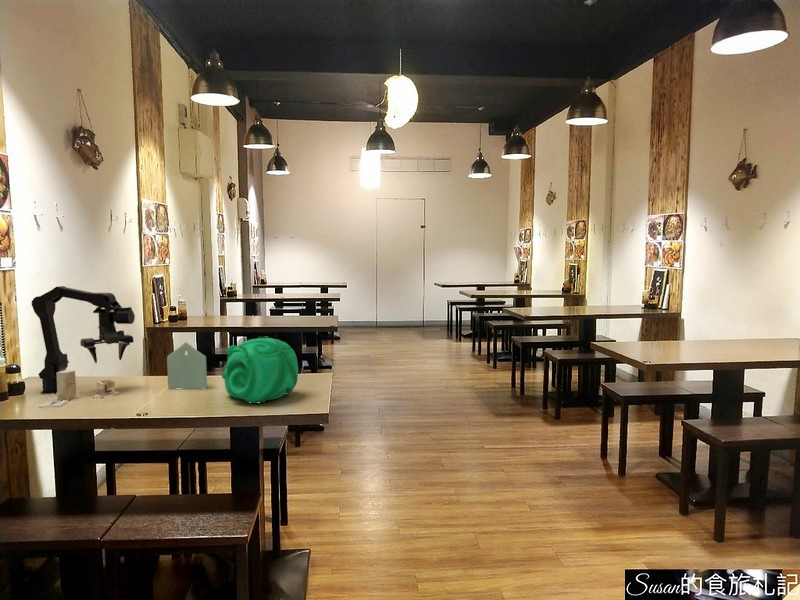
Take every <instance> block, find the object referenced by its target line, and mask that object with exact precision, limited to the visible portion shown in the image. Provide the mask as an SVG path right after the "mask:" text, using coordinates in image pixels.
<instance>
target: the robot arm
mask: <svg viewBox="0 0 800 600" xmlns="http://www.w3.org/2000/svg"><path fill="white" fill-rule="evenodd" d="M63 298H65V299H72V300H77V301H82V302H86V303H90V304H91V305H92V306H95V307H96V308H95V309H94V310H93V311H92V313H93V314H98V330H99V331H98V334H99V335H98V338H97V339H94V338H92V337H88V338H81V340H79V341H80V347H83V348H85V349H87V350H88V352H89V353H90V356H91V357H92V359H93V361H94V363H95V364H97V363H98V357H97V347H96V346H95V345H99V344H100V345H101V344H106V345H111V344H118V360H119V361H122V358H123V356H124V353H125V350H126V347H128V346H130V345H131V344H132V343H134V336H132V335H130V334H125V331H124V330H118V331H117V329H116V325H115V324H117V325H133V324H134V321H135V317H136V315H135V313H134V311H133V309H132V307H131V306H130V307H129V306H127V307H122V305H121V304H120V303H119V302H118V300H117V298H116V296H115V294H114V293H112V292H91V291H86V290H81V289H76V288H71V287H66V286H64V285H62V286H60V285H59V286H56V287H54V288H52V289H50V290H49V291H47V292H45V293H43V294H40V295H38V296H35V297H34V298H33V299H32V300H31V308H32V309H33V312H34V314H35V315H36V316H37V317H38V319H39V322H40V327H41V332H42V337H43V341H44V346H45V347H44V348H45V352H46V354H45V357H44V362H43V363H44V368H42V370H41V371H40V372H39V373H38V377H39V379H40V380H41V381H42V390H41V391H40V394H54V393H55V392H57V372H61V371H65V370H67V368H68V367H69V365H68V364H70V362H69V359H68V354H67V353H63V352H62V351H61V348H60V343H59V337H58V333H57V328H56V323H55V318H54V314H55V312H56V303H58V302H59V301H61V300H62V299H63Z"/></svg>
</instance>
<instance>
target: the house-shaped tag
mask: <svg viewBox="0 0 800 600" xmlns="http://www.w3.org/2000/svg"><path fill="white" fill-rule="evenodd" d="M186 353H187V354H186ZM166 357H167V358H166V360H167V361H166V363H167V364H166V366H167V367H166V368H167V389H168V388H170V389H169V390H177V389H176V388H183V389H182V390H204V389H203V388H207V389H208V379H207V378H208V377H207V376H208V375H207V372H208V370H207V356H206V355H205V354H203V353H201V352H200V351H198V350H197V349H196V348H195V347H194V346H192V344H189V343H188V342H184V343H183V344H181V345H180V346H179V347H178V348H177V349H175V350H174V351H173V352H171V353H170V354H169V355H167V356H166ZM184 388H185V389H184ZM186 388H187V389H186ZM198 388H200V389H198ZM201 388H202V389H201Z"/></svg>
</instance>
